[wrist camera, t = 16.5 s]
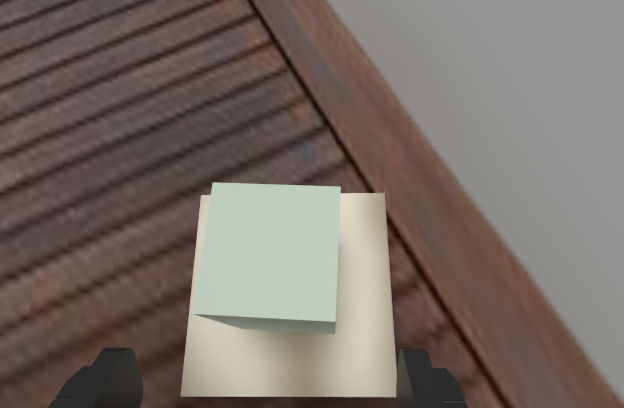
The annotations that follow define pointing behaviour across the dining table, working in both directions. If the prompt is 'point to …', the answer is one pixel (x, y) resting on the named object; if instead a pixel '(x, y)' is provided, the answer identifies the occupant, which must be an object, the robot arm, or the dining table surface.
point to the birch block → (308, 346)
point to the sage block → (270, 257)
